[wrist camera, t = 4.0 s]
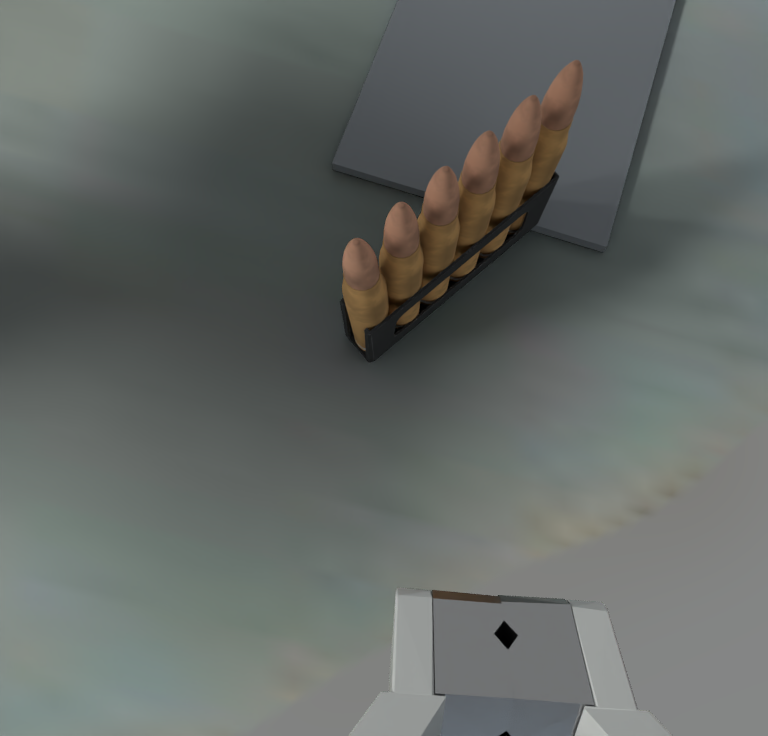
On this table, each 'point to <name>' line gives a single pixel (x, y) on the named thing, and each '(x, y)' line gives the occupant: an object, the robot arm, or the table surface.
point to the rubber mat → (509, 95)
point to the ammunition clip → (458, 221)
